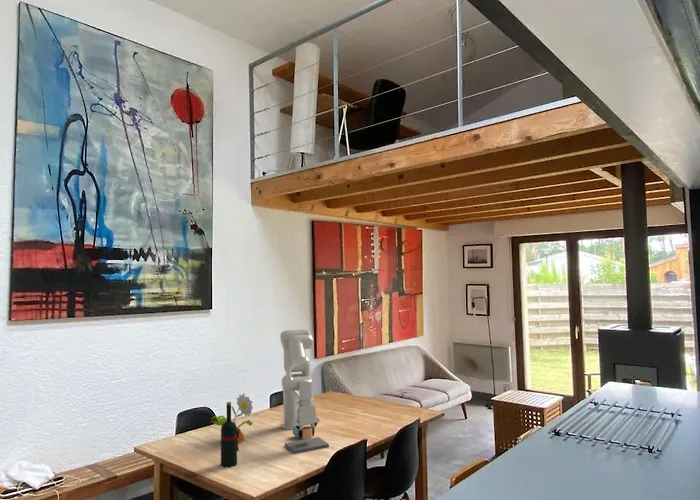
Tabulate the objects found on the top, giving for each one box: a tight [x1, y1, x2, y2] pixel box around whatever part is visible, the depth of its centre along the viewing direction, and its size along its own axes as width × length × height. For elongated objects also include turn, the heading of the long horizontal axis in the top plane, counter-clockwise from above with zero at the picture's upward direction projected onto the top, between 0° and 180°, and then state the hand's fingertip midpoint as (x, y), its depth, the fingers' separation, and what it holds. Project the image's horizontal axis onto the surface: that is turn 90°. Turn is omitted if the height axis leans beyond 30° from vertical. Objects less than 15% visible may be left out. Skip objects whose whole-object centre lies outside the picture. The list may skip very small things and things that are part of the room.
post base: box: [284, 436, 330, 455], centre depth 260 cm, size 14×20×7 cm
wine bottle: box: [220, 401, 240, 468], centre depth 238 cm, size 8×10×30 cm
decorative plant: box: [210, 392, 254, 444], centre depth 272 cm, size 27×24×25 cm
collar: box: [301, 425, 314, 440], centre depth 260 cm, size 6×6×5 cm
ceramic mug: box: [291, 423, 307, 440], centre depth 277 cm, size 11×8×8 cm
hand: (306, 436), depth 260 cm, fingers closed on collar, 6 cm apart
